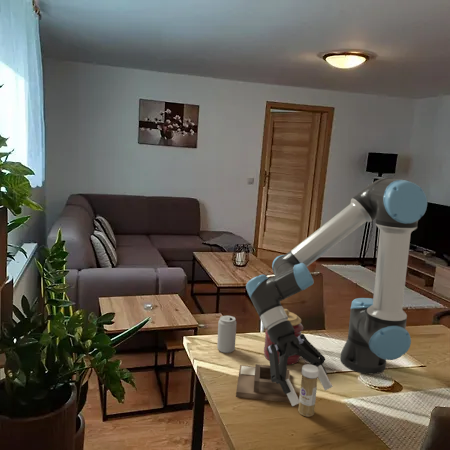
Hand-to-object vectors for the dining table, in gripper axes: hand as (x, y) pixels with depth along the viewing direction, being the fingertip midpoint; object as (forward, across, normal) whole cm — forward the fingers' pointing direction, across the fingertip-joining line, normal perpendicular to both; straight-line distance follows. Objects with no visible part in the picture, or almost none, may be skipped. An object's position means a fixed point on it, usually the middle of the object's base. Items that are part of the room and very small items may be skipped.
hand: (313, 396), depth 116 cm
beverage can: (-26, -5, -35) cm, 44 cm away
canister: (-16, -18, -25) cm, 35 cm away
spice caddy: (-9, 0, -18) cm, 20 cm away
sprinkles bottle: (+3, 0, -6) cm, 6 cm away
